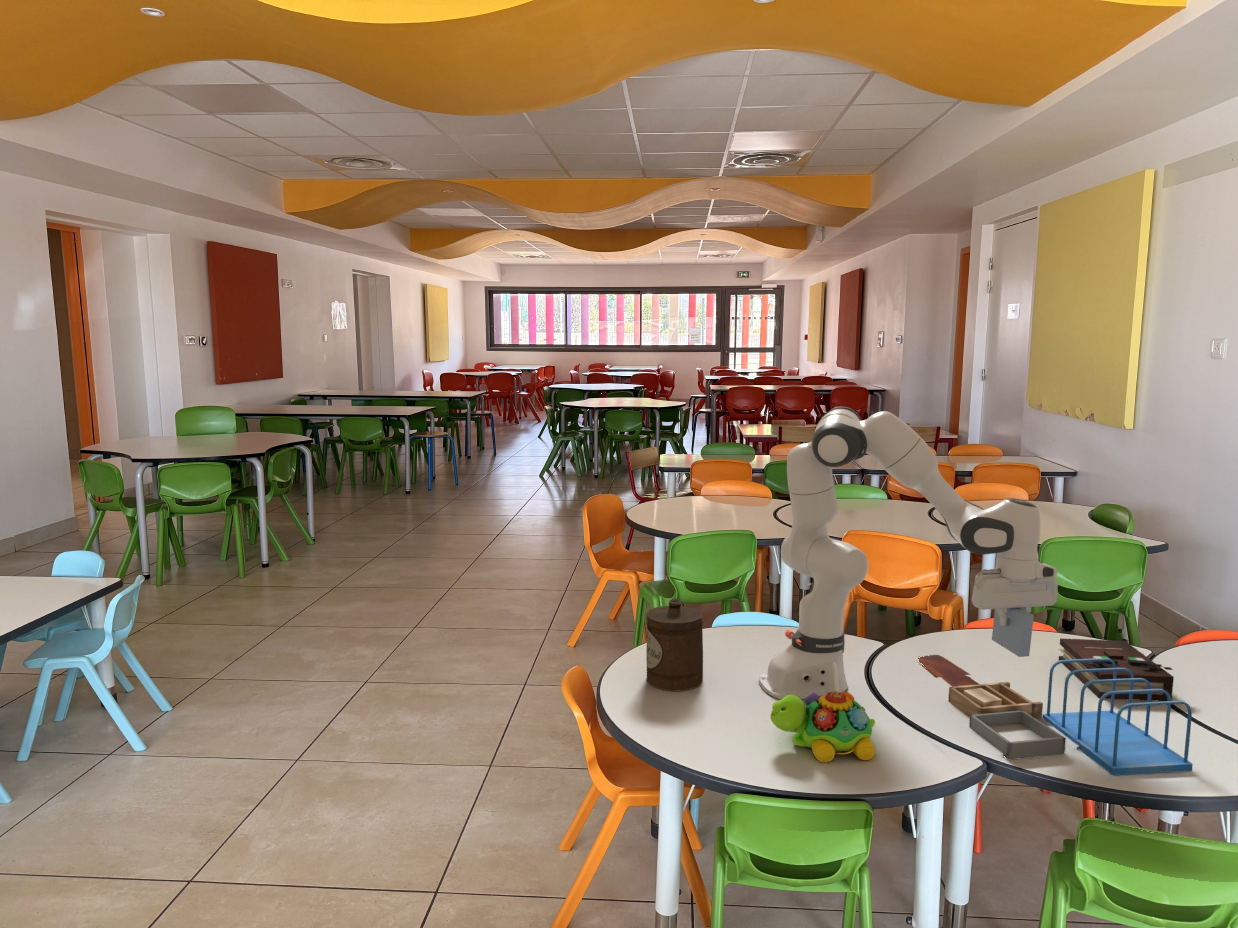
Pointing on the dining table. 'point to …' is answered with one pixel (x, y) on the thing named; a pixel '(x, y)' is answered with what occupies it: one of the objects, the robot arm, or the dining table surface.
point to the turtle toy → (826, 724)
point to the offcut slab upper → (982, 697)
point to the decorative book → (1123, 658)
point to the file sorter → (1118, 729)
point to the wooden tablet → (946, 670)
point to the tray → (1018, 749)
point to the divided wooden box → (1000, 690)
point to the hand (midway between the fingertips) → (1012, 624)
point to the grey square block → (1014, 631)
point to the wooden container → (674, 647)
